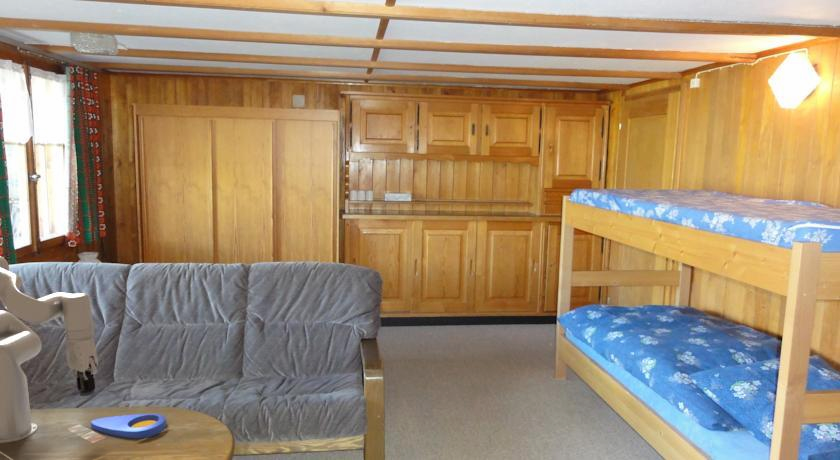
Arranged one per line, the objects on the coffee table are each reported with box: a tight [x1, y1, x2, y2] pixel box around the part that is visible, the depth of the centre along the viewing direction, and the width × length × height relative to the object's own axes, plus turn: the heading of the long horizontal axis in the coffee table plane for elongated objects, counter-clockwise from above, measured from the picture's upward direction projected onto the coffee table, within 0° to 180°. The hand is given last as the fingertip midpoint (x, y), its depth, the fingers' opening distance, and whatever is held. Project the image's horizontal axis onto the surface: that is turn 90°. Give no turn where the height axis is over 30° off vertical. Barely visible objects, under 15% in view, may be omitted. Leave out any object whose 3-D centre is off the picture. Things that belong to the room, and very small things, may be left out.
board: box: [66, 424, 107, 444], centre depth 190 cm, size 17×5×1 cm, turn 56°
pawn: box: [79, 371, 95, 397], centre depth 187 cm, size 4×4×8 cm
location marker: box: [90, 413, 167, 440], centre depth 194 cm, size 13×3×25 cm
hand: (86, 389), depth 187 cm, fingers closed on pawn, 3 cm apart
